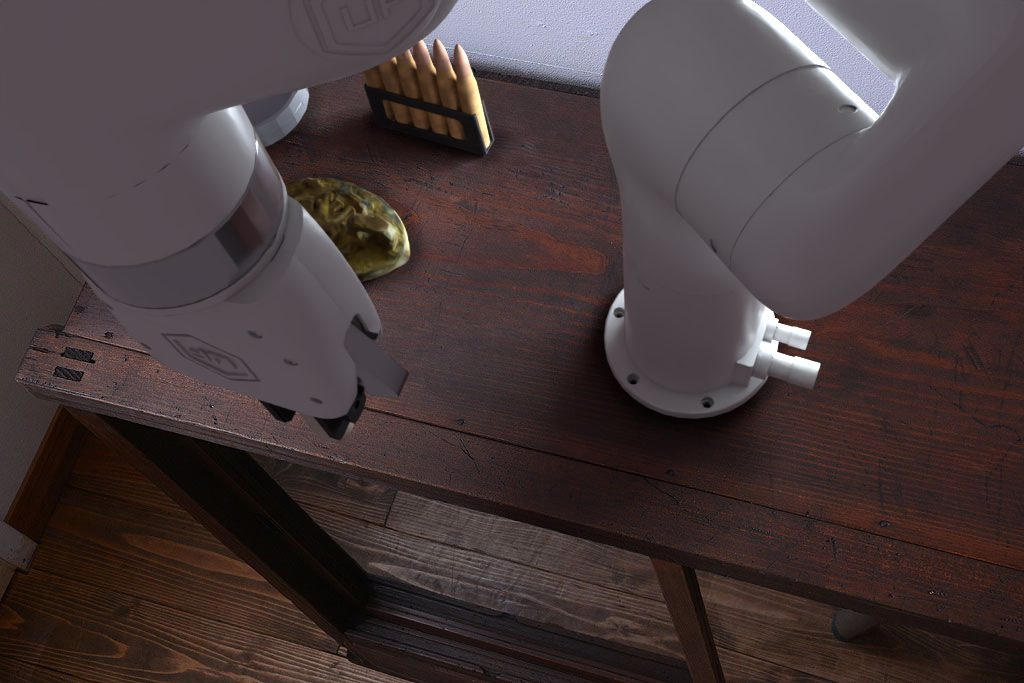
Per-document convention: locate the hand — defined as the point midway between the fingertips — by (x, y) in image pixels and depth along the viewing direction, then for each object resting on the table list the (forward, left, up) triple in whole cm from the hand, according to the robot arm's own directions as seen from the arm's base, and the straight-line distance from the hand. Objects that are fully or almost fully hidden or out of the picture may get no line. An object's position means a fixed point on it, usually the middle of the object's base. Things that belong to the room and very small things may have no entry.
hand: (321, 403), depth 50 cm
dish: (+29, -29, -21) cm, 47 cm away
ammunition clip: (+12, -32, -21) cm, 40 cm away
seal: (+16, -20, -21) cm, 33 cm away
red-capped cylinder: (0, 0, -3) cm, 3 cm away
